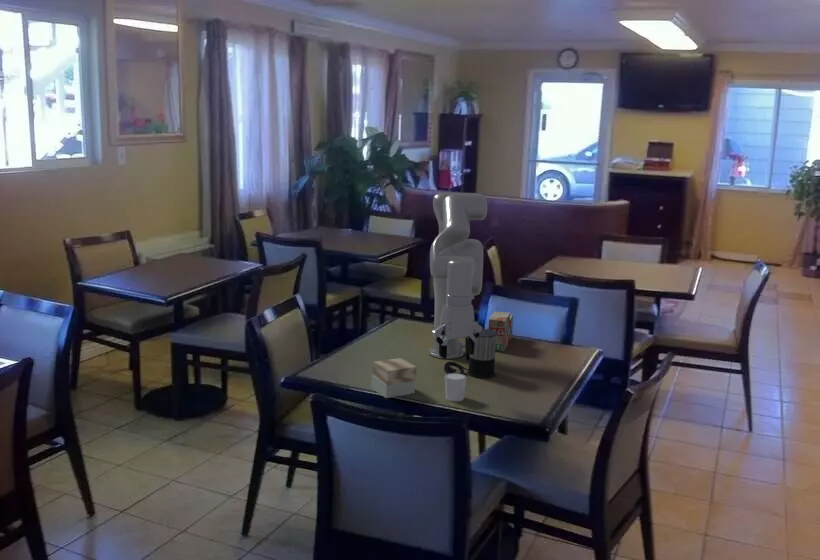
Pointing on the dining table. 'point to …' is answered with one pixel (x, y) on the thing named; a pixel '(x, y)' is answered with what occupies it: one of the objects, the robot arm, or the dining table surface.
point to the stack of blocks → (501, 328)
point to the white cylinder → (455, 386)
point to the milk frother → (479, 356)
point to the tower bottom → (392, 388)
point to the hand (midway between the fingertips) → (456, 355)
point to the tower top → (394, 371)
